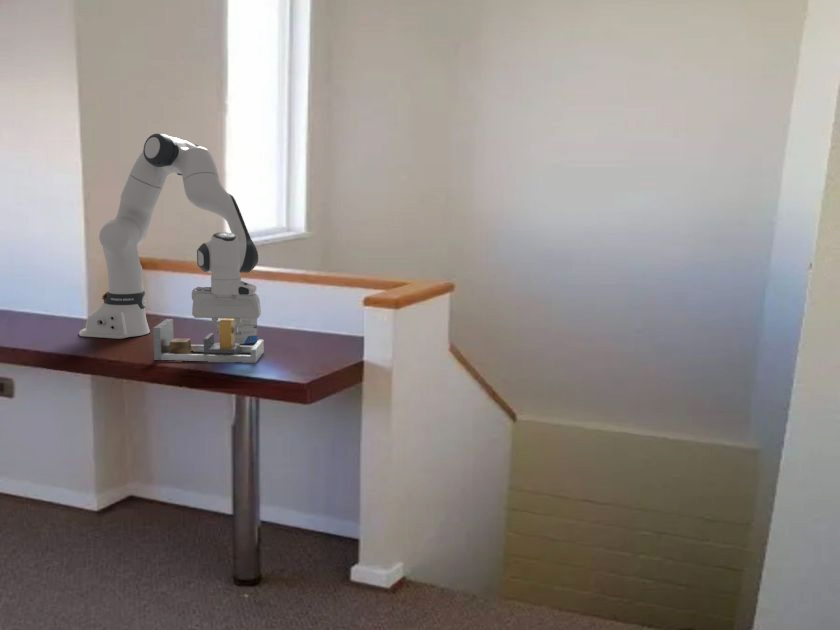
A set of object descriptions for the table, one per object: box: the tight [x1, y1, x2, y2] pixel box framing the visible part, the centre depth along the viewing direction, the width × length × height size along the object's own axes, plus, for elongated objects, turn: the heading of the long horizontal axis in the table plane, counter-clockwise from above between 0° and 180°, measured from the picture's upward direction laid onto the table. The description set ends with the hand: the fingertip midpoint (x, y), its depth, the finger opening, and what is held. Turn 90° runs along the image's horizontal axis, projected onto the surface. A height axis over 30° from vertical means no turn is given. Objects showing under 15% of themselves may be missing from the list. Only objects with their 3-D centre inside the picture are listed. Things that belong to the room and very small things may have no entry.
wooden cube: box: [170, 337, 192, 354], centre depth 271 cm, size 5×5×5 cm
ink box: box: [227, 318, 258, 345], centre depth 290 cm, size 9×5×12 cm, turn 112°
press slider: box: [203, 318, 241, 355], centre depth 270 cm, size 9×9×11 cm
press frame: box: [152, 318, 265, 364], centre depth 270 cm, size 30×14×10 cm, turn 90°
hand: (227, 332), depth 270 cm, fingers closed on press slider, 3 cm apart
